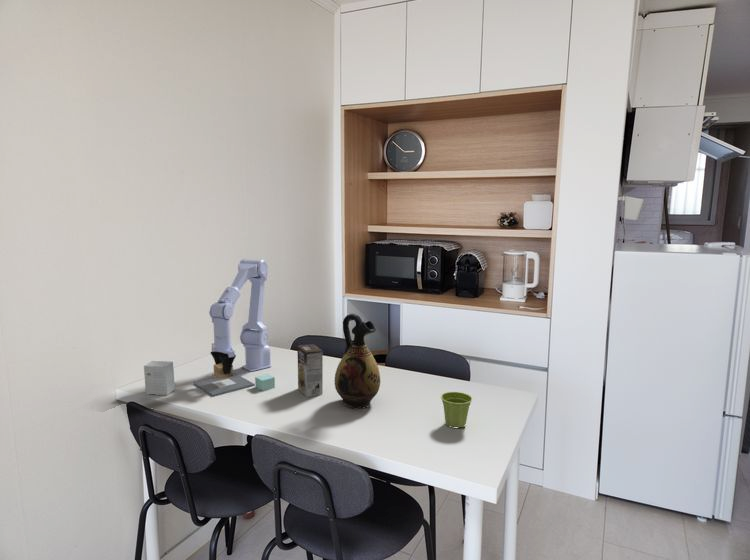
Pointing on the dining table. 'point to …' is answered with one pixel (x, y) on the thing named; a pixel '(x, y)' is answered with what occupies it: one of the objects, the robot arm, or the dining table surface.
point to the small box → (159, 377)
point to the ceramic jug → (357, 366)
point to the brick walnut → (221, 371)
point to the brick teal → (265, 382)
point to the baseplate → (223, 384)
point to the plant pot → (456, 408)
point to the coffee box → (310, 370)
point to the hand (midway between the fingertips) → (223, 371)
